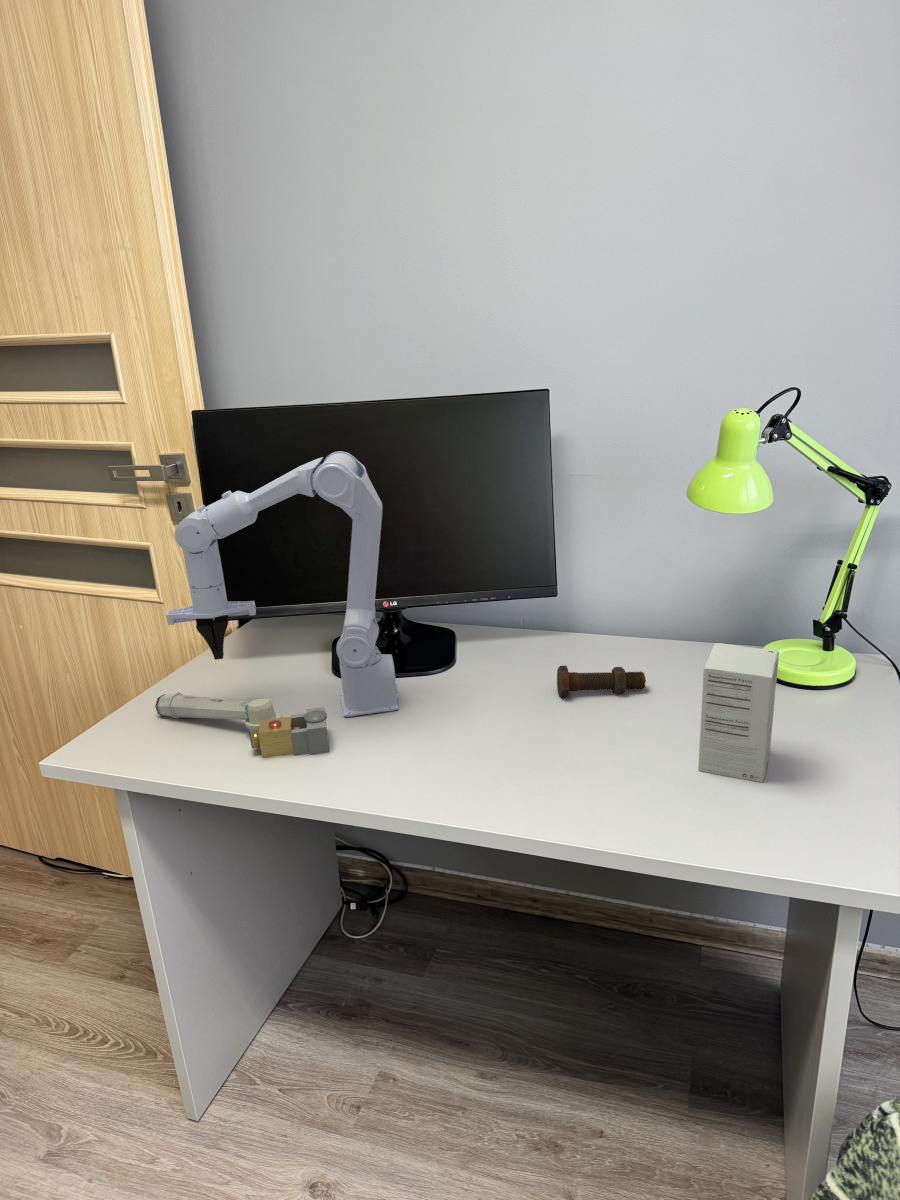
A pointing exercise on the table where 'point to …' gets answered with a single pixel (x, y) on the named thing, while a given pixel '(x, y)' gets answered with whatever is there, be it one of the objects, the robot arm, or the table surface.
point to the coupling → (310, 732)
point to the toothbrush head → (216, 709)
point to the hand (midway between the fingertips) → (219, 657)
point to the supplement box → (737, 711)
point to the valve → (274, 737)
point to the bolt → (598, 681)
